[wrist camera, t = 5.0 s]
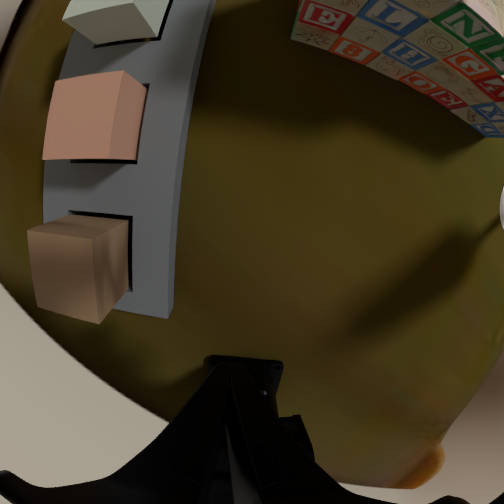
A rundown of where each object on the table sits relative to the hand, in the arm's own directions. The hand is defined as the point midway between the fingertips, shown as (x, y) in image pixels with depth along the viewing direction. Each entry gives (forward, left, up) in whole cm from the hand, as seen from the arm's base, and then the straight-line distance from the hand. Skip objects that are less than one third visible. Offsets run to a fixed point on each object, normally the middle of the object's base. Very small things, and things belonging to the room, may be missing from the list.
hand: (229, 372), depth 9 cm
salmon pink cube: (+9, +10, -11) cm, 18 cm away
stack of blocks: (+19, -12, -12) cm, 26 cm away
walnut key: (0, +10, -10) cm, 14 cm away
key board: (+9, +10, -12) cm, 18 cm away
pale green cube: (+18, +10, -10) cm, 23 cm away
